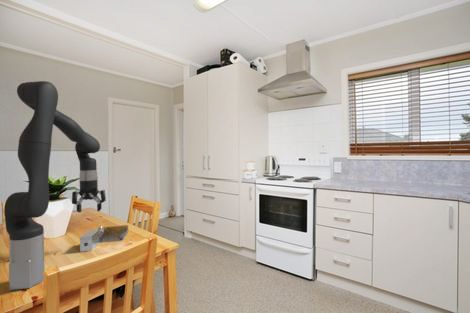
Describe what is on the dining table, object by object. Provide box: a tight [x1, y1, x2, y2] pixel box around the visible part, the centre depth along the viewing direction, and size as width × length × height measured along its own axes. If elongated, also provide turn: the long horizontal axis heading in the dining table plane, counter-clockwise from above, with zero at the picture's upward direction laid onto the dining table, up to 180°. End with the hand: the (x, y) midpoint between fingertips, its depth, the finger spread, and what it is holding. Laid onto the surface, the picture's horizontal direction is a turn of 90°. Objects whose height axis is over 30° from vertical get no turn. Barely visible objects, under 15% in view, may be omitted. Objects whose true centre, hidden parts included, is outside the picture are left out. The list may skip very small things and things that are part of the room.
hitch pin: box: [97, 226, 104, 235], centre depth 134 cm, size 7×3×3 cm, turn 33°
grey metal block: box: [79, 229, 100, 253], centre depth 114 cm, size 10×5×7 cm, turn 13°
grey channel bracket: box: [99, 224, 129, 244], centre depth 127 cm, size 14×13×4 cm
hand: (89, 211), depth 114 cm, fingers open, 8 cm apart
